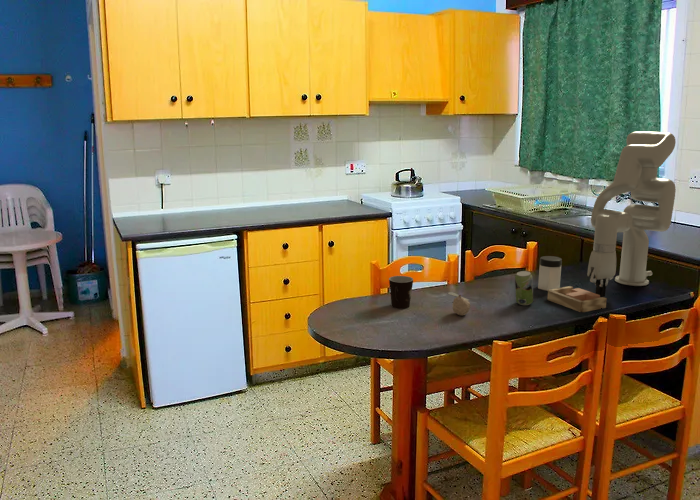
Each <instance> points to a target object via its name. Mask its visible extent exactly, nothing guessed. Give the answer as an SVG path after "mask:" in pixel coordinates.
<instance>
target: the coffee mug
mask: <svg viewBox="0 0 700 500" xmlns="http://www.w3.org/2000/svg"><path fill="white" fill-rule="evenodd" d="M388 283H389V293H390V304H391V307H392V308H393V309H397V310H398V309H399V310H402V309H403V310H404V309H408V308H409V307H410V304H411V299H412V298H411V297H412V292H413V284H414V278H413V277H411V276H407V275H394V276H390V277H389V278H388Z"/></svg>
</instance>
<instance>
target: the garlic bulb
mask: <svg viewBox="0 0 700 500" xmlns="http://www.w3.org/2000/svg"><path fill="white" fill-rule="evenodd" d="M458 295H459V296H458V297H456V296H455V298H454V299H453V301H452V306H451V307H452V311H453V312H454V313H455V314H456V315H458V316H460V317H461V316H465V315H467V314H468V313H469V311H470V308H471V303H470V300H466V299H467V298H466V297H464V298H463V296H462V295H461V294H458ZM465 298H466V299H465Z"/></svg>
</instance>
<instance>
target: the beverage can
mask: <svg viewBox="0 0 700 500" xmlns="http://www.w3.org/2000/svg"><path fill="white" fill-rule="evenodd" d="M514 280H515V281H514V282H515V283H514V284H515V301H516V303H517V304H519V305H521V306H529V305H531V304H533V302H534V285H533V283H534V282H533V275H532V274H531V272H530V271H528V270H520V271H518V272H516V275H515V276H514Z"/></svg>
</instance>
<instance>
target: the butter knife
mask: <svg viewBox="0 0 700 500" xmlns="http://www.w3.org/2000/svg"><path fill="white" fill-rule="evenodd" d="M447 294H448V295H450V296H453V297H455V298H456V297H458V296H459V295H460V294H458V293H455V292H452V291H449V292H447ZM462 297H463V296H462ZM463 298H465V299H466V300H468V301H470V299H468V298H466V297H463Z"/></svg>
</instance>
